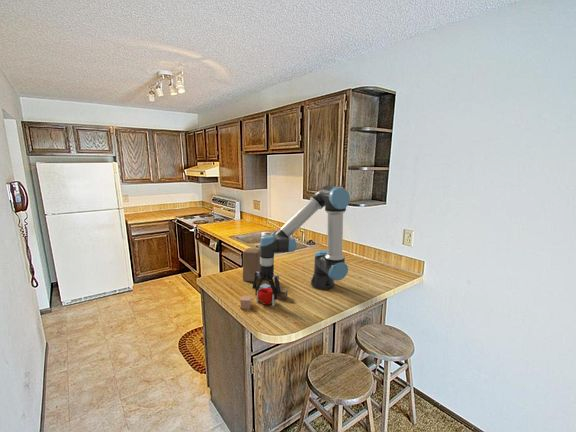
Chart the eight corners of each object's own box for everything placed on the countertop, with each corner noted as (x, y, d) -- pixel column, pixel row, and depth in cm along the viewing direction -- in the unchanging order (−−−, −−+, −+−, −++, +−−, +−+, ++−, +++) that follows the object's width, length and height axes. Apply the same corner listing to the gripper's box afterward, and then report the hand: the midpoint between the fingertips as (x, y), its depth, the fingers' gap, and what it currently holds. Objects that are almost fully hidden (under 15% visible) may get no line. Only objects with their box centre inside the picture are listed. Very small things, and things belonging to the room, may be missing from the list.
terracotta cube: (251, 304, 150) (251, 295, 149) (250, 309, 145) (250, 300, 144) (241, 304, 150) (241, 295, 149) (240, 308, 145) (240, 300, 144)
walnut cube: (287, 296, 160) (287, 288, 159) (285, 300, 155) (285, 292, 154) (278, 295, 161) (279, 287, 160) (276, 299, 156) (276, 291, 156)
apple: (255, 305, 149) (255, 291, 147) (262, 298, 157) (262, 285, 155) (270, 308, 146) (270, 294, 144) (276, 301, 154) (277, 288, 152)
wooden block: (256, 282, 177) (257, 253, 174) (242, 281, 179) (242, 251, 176) (261, 276, 187) (261, 248, 183) (247, 275, 189) (247, 247, 185)
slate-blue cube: (271, 293, 163) (271, 285, 162) (265, 296, 159) (265, 288, 158) (264, 291, 166) (265, 283, 165) (259, 293, 162) (259, 286, 161)
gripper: (288, 265, 146) (286, 304, 150) (253, 258, 155) (252, 295, 159) (282, 269, 140) (280, 310, 143) (245, 262, 148) (245, 301, 152)
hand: (266, 302), depth 151 cm, fingers closed on apple, 9 cm apart
